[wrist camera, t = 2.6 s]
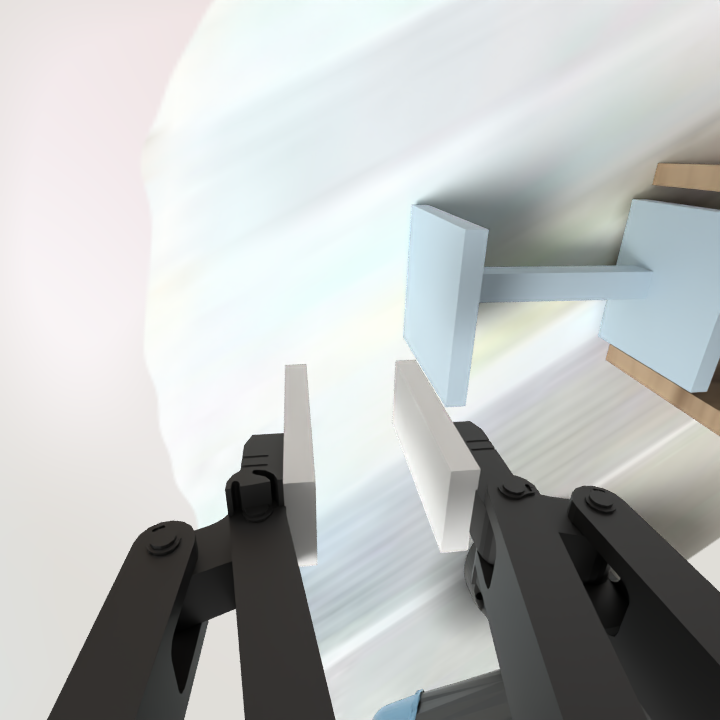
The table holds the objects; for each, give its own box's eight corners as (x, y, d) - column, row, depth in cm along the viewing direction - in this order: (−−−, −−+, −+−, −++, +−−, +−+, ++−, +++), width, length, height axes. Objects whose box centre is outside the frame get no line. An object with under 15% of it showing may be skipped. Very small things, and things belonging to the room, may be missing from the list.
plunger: (402, 342, 37) (444, 414, 27) (412, 197, 32) (466, 218, 22) (611, 335, 39) (719, 399, 29) (647, 199, 35) (790, 219, 25)
